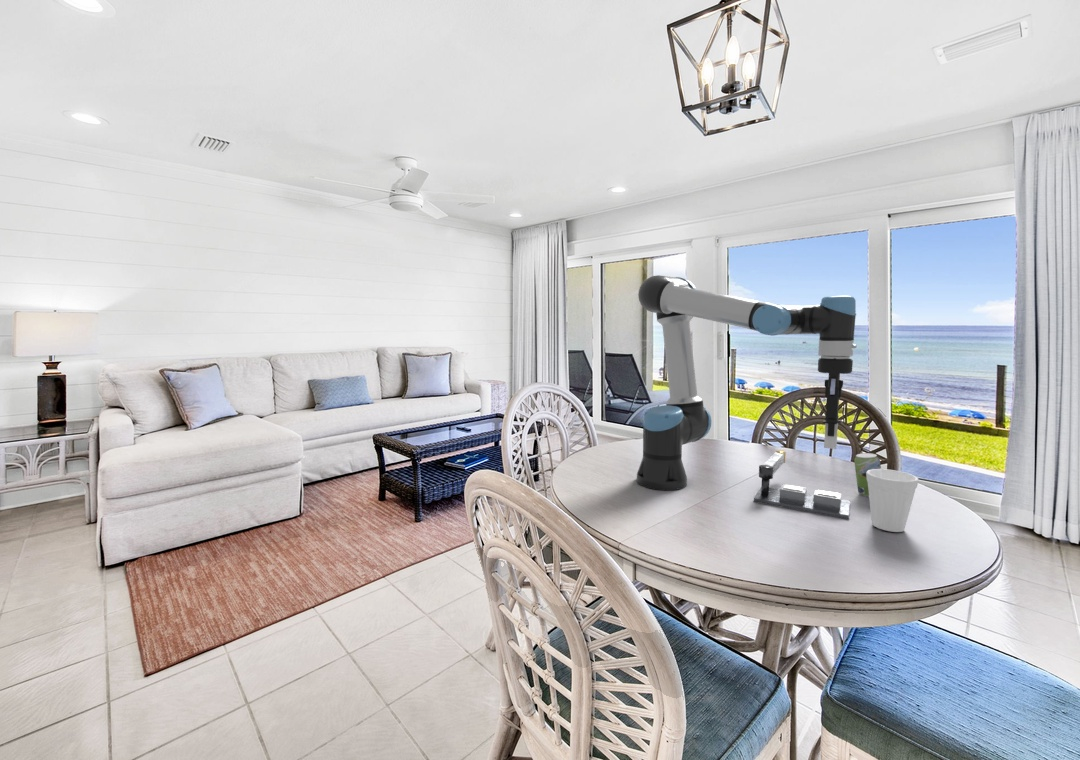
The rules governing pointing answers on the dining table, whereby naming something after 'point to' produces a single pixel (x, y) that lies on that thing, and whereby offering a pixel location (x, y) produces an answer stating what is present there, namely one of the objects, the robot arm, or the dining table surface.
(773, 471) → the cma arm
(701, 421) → the robot arm
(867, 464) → the beverage can
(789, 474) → the dining table surface
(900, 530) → the cup
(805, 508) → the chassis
